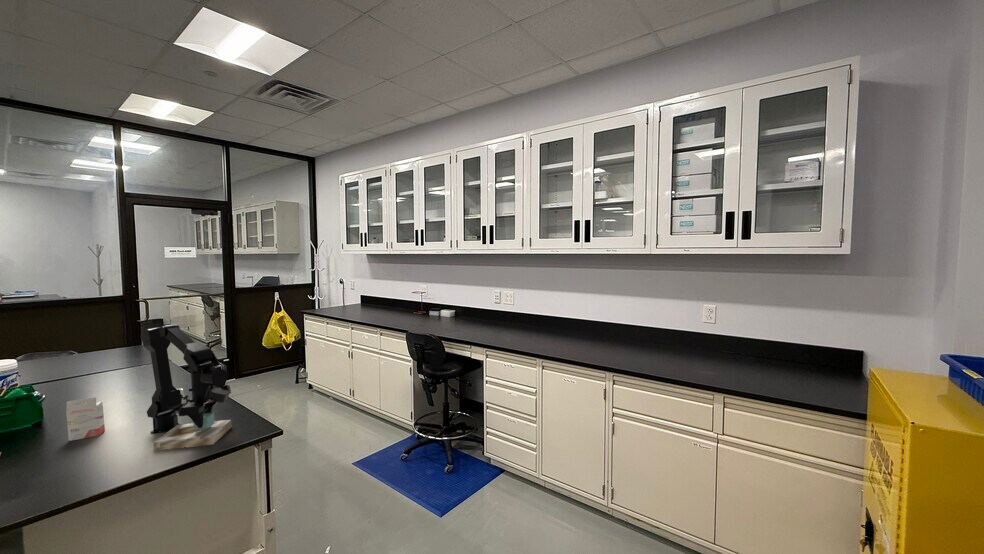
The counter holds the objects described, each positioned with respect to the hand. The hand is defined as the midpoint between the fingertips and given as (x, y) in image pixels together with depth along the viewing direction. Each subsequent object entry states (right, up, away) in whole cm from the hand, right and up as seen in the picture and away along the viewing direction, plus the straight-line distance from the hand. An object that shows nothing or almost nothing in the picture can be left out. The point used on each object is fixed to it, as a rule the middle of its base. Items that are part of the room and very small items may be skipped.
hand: (203, 424), depth 139 cm
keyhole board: (-3, -5, 0) cm, 6 cm away
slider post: (0, -4, 0) cm, 4 cm away
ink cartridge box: (-47, -6, +4) cm, 47 cm away
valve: (-35, -4, +32) cm, 48 cm away
